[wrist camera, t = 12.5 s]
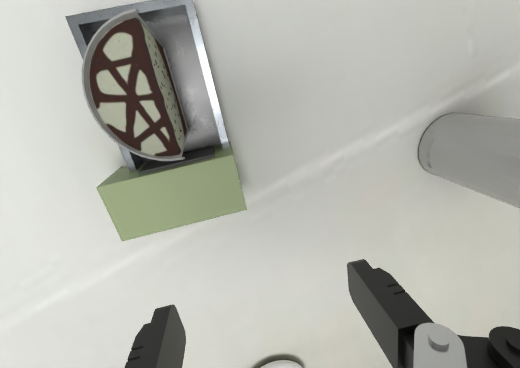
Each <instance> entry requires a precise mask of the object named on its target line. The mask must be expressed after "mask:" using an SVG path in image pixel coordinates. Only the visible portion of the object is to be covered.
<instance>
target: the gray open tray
mask: <svg viewBox="0 0 520 368" xmlns="http://www.w3.org/2000/svg"><path fill="white" fill-rule="evenodd" d="M132 9H139V11H140V12H138V13H137V14H138V15H139V16H140V17H141V19H142V20H143V21H144V22H145V24H146V25H147V26H148V27H149V28H150V30H151V31H152V32H153V33H154V34H155V36H156V37H157V38H158V39H159V41H160V42H161V43H162V44H163V45H164V48H165V51H166V55H167V58H168V62H169V65H170V68H171V72H172V75H173V79H174V82H175V85H176V89H177V92H178V96H179V99H180V103H181V106H182V109H183V113H184V116H185V120H186V123H187V127H188V130H189V131H188V135H187V139H186V143H185V147H184V150H183V154H184V153H188V152H193V151H197V150H201V149H205V148H210V147H214V146H218V145H222V148H223V150H224V149H228V148H230V147H229V143H228V139H227V135H226V131H225V127H224V123H223V119H222V115H221V111H220V107H219V103H218V99H217V95H216V91H215V87H214V83H213V79H212V75H211V71H210V67H209V63H208V59H207V55H206V51H205V47H204V43H203V39H202V35H201V31H200V27H199V23H198V19H197V15H196V11H195V7H194V3H193V0H150V1H145V2H140V3H135V4H129V5H124V6H119V7H113V8H108V9H103V10H97V11H92V12H87V13H81V14H76V15H71V16H65V17H66V20H67V22H68V24H69V27H70V29H71V32H72V34H73V36H74V39H75V41H76V44H77V46H78V49H79V51H80V53H81V56H82V58H83V60H84V55H85V52H86V50H87V47H88V44H89V43H90V41H91V39H92V37H93V36H94V34H95V33H96V32H97V31H98V30H99V28H100V27H101V26H102V25H103V24H104V23H106V22H107V21H108V20H110V19H111V18H112V17H114V16H116V15H118V14H120V13H122V12H125V11H128V10H132ZM119 148H120V150H121V153H122V155H123V157H124V160H125V162H126V165H127V167H128V170H129V172H131V171H135V170H137V169H138V168H139V167H140V166H141V165H142V164H143V163H146V162H150V161H154V160H152V159H148V158H145V157H141V156H138V155H136V154H134V153H132V152H130V151H128V150H126V149H125V148H123V147H121V146H120V145H119Z"/></svg>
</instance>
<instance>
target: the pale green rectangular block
mask: <svg viewBox="0 0 520 368" xmlns="http://www.w3.org/2000/svg"><path fill="white" fill-rule="evenodd" d="M228 143H229V147H230V148H228V149H224V150H223V148H222V145H218V146H214V147H210V148H205V149H201V150H197V151H193V152H188V153H184V154H182V157H185V159H183V160H176V161H159V160H154V161H150V162H146V163H143V164H142V165H141V166H140V167H139V168H138V169H137V170H135V171H131V172H129V170H128V167H127V166H125V167H121V168H119V169H118V170H117V171H116V172H115V173H113V174H112V175H111V176H110V177H109V178H107V179H106V180H105V181H104V182H102V183H101V184H100V185H99V186H98V187H96V188H97V190H98V192H99V194H100V196H101V198H102V200H103V202H104V204H105V207H106V209H107V211H108V213H109V215H110V217H111V219H112V221H113V223H114V225H115V228H116V230H117V232H118V234H119V236H120V238H121V240H122V241H126V240H130V239H134V238H137V237H141V236H145V235H149V234H153V233H157V232H161V231H165V230H169V229H173V228H176V227H180V226H184V225H188V224H192V223H196V222H200V221H204V220H208V219H212V218H216V217H219V216H223V215H227V214H231V213H235V212H239V211H243V210H247V208H246V204H245V200H244V196H243V192H242V188H241V184H240V180H239V176H238V172H237V168H236V164H235V159H234V155H233V152H232V148H231V144H230V142H228Z"/></svg>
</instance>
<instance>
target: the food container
mask: <svg viewBox="0 0 520 368" xmlns="http://www.w3.org/2000/svg"><path fill="white" fill-rule="evenodd" d="M138 12H140V11H139V9H132V10H128V11H125V12H122V13H120V14H118V15H116V16H114V17H112V18H111V19H110V20H108V21H107V22H106V23H104V24H103V25H102V26H101V27H100V28H99V30H98V31H97V32H96V33H95V34H94V36H93V37H92V39H91V41H90V43H89V44H88V47H87V50H86V52H85V55H84V60H83V66H82V84H83V90H84V95H85V98H86V101H87V104H88V107H89V109H90V111H91V113H92V115H93V117H94V118H95V120H96V121H97V123H98V124H99V126H100V127H101V128H102V129H103V131H104V132H105V133H106V134H107V135H108V136H109V137H110V138H111V139H112V140H114V141H115V142H116V143H117V144H118V145H120V146H121V147H123V148H125V149H126V150H128V151H130V152H132V153H134V154H136V155H138V156H141V157H145V158H148V159H152V160H159V161H176V160H183V159H185V157H182V154H183V150H184V147H185V143H186V139H187V135H188V131H189V130H188V127H187V123H186V120H185V116H184V113H183V109H182V106H181V103H180V99H179V96H178V92H177V89H176V85H175V82H174V79H173V75H172V72H171V68H170V65H169V62H168V58H167V55H166V51H165V48H164V45H163V44H162V43H161V42H160V41H159V39H158V38H157V37H156V36H155V34H154V33H153V32H152V31H151V30H150V28H149V27H148V26H147V25H146V24H145V22H144V21H143V20H142V19H141V17H140V16H139V15H138V14H137V13H138Z"/></svg>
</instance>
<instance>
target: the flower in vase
mask: <svg viewBox="0 0 520 368" xmlns="http://www.w3.org/2000/svg"><path fill="white" fill-rule="evenodd" d="M261 368H303V367H302V366H300V365H299V364H298V363H296V362H293V361H289V360H279V361H274V362H270V363H268V364H266V365H264V366H262V367H261Z"/></svg>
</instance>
